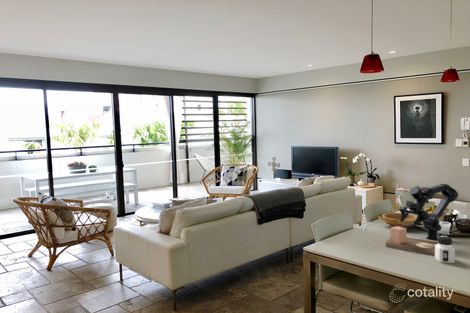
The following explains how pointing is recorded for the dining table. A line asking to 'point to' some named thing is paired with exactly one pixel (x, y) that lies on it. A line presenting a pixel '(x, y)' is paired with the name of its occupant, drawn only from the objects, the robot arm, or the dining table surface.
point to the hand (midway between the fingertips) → (407, 223)
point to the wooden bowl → (398, 220)
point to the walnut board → (414, 245)
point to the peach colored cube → (398, 234)
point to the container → (445, 250)
